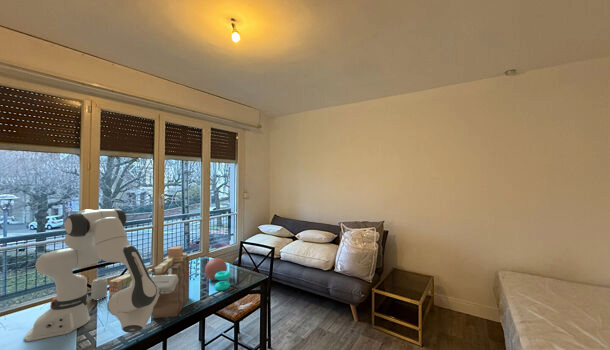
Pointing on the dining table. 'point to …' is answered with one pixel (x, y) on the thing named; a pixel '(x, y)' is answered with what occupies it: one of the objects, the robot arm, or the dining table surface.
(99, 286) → the light grey block
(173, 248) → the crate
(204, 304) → the dining table surface
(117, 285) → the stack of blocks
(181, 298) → the paper bag
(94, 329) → the dining table surface
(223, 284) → the donuts
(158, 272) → the pallet
